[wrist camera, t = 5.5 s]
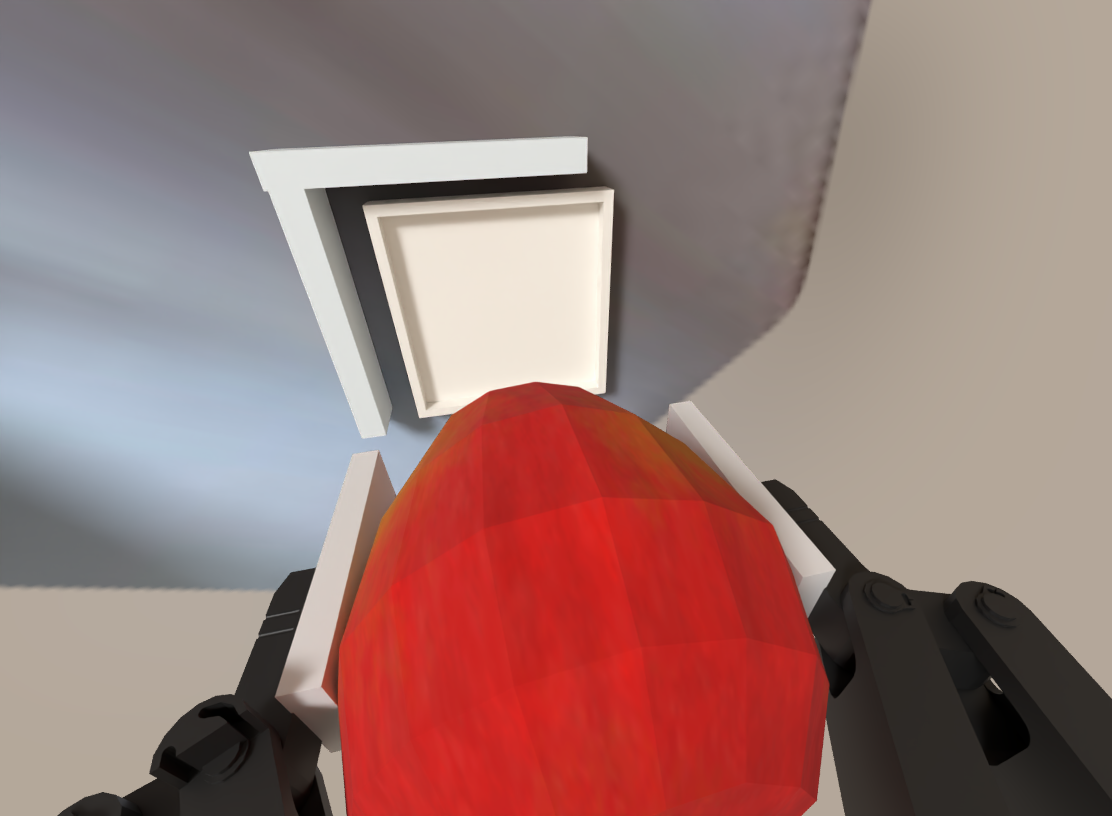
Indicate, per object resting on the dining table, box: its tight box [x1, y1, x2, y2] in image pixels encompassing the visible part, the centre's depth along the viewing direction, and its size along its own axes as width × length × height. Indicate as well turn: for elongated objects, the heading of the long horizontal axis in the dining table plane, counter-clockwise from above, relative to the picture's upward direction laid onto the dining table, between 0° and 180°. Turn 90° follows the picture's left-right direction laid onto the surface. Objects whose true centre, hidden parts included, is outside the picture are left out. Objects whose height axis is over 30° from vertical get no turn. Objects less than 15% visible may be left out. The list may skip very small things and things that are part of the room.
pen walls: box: [249, 136, 587, 439], centre depth 26 cm, size 16×17×4 cm
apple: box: [338, 382, 829, 816], centre depth 10 cm, size 9×9×12 cm
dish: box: [363, 186, 614, 418], centre depth 28 cm, size 14×14×2 cm
